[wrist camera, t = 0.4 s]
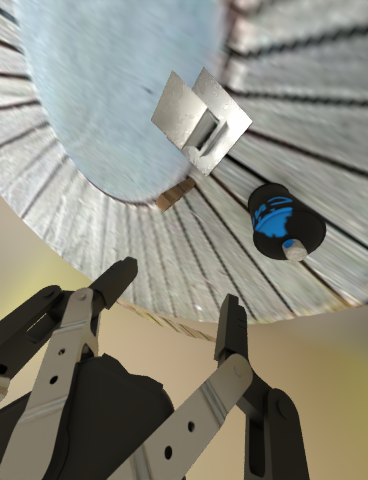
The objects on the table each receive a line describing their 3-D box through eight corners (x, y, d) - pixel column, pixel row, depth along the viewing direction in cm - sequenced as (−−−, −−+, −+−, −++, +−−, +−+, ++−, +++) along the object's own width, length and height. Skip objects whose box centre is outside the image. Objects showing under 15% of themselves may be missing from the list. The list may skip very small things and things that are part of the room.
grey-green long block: (204, 107, 26) (172, 69, 14) (222, 126, 27) (207, 106, 14) (189, 133, 29) (150, 120, 16) (205, 149, 29) (180, 149, 17)
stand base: (204, 69, 24) (194, 45, 19) (252, 122, 26) (255, 114, 20) (168, 137, 31) (153, 135, 26) (207, 176, 33) (201, 181, 27)
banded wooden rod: (190, 177, 34) (160, 193, 22) (196, 183, 35) (171, 203, 22) (184, 184, 36) (154, 203, 23) (191, 189, 36) (164, 212, 23)
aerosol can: (299, 198, 30) (370, 256, 14) (265, 225, 35) (289, 290, 19) (269, 174, 29) (307, 204, 13) (239, 204, 34) (240, 253, 18)
